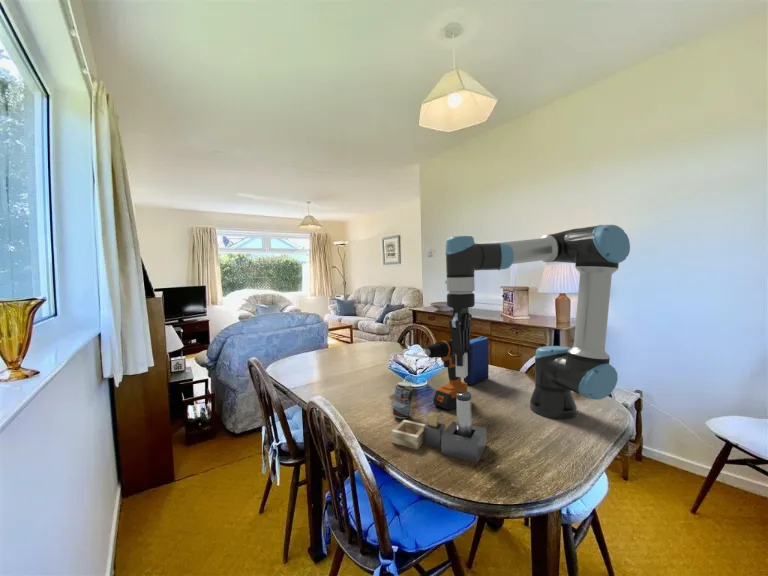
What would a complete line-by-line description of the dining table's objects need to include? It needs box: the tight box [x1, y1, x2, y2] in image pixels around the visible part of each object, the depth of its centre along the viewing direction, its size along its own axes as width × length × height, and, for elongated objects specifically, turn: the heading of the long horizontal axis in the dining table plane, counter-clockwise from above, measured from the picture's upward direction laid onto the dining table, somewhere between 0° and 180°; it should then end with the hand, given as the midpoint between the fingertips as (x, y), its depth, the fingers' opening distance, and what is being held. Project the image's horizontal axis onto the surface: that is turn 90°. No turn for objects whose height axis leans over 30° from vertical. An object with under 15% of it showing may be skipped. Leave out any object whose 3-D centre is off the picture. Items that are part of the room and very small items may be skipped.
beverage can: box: [392, 381, 413, 419], centre depth 121 cm, size 6×7×12 cm
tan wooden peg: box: [426, 410, 442, 429], centre depth 101 cm, size 3×3×8 cm
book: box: [463, 335, 490, 386], centre depth 155 cm, size 14×5×20 cm, turn 130°
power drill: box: [424, 339, 468, 411], centre depth 129 cm, size 22×7×25 cm, turn 129°
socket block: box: [423, 420, 487, 464], centre depth 99 cm, size 16×10×6 cm, turn 60°
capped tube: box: [456, 391, 472, 438], centre depth 97 cm, size 4×4×16 cm
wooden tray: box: [390, 419, 426, 450], centre depth 103 cm, size 8×8×4 cm
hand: (461, 375), depth 96 cm, fingers closed
